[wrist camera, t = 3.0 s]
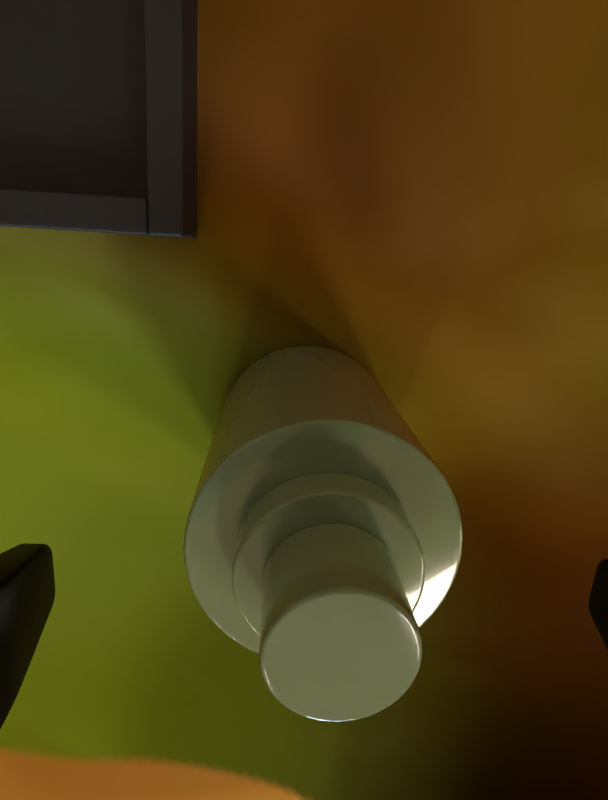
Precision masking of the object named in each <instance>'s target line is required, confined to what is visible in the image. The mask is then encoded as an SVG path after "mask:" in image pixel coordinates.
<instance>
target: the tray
mask: <svg viewBox="0 0 608 800" xmlns="http://www.w3.org/2000/svg"><path fill="white" fill-rule="evenodd" d="M196 213H197V0H0V226H12V227H27V228H43V229H59V230H74V231H90V232H106V233H121V234H137V235H153V236H168V237H188V238H195V237H196Z"/></svg>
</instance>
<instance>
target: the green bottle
mask: <svg viewBox="0 0 608 800" xmlns="http://www.w3.org/2000/svg"><path fill="white" fill-rule="evenodd" d="M462 542H463V533H462V521H461V516H460V511H459V506H458V504H457V501H456V498H455V496H454V493H453V491H452V489H451V487H450V485H449V483H448V482H447V480H446V478H445V476H444V475H443V474H442V472H441V471H440V469H439V468H438V467H437V465H436V464H435V462H434V461H433V460H432V458H431V457H430V455H429V454H428V453H427V451H426V450H425V448H424V447H423V446H422V444H421V443H420V441H419V440H418V439H417V437H416V436H415V434H414V433H413V432H412V430H411V429H410V427H409V426H408V425H407V423H406V422H405V420H404V419H403V418H402V416H401V415H400V413H399V412H398V411H397V409H396V408H395V406H394V405H393V404H392V402H391V401H390V399H389V398H388V397H387V395H386V394H385V392H384V391H383V390H382V388H381V387H380V385H379V384H378V383H377V381H376V380H375V379H374V377H373V376H372V375H371V374H370V373H369V372H368V371H367V370H366V369H365V368H364V367H363V366H362V365H361V364H359V363H358V362H357V361H355V360H354V359H352V358H351V357H349V356H347V355H345V354H343V353H340V352H338V351H335V350H332V349H328V348H324V347H317V346H296V347H289V348H285V349H281V350H278V351H275V352H273V353H270V354H268V355H266V356H264V357H262V358H261V359H259V360H257V361H256V362H254V363H253V364H252V365H251V366H249V367H248V368H247V369H246V370H245V371H244V372H243V373H242V374H241V375H240V376H239V377H238V379H237V380H236V381H235V383H234V384H233V385H232V387H231V389H230V391H229V393H228V395H227V397H226V400H225V402H224V405H223V408H222V411H221V414H220V417H219V420H218V424H217V427H216V430H215V433H214V436H213V439H212V442H211V446H210V449H209V452H208V455H207V458H206V461H205V464H204V468H203V471H202V474H201V477H200V480H199V483H198V486H197V490H196V493H195V496H194V499H193V502H192V505H191V508H190V512H189V515H188V519H187V524H186V528H185V535H184V558H185V566H186V570H187V575H188V579H189V582H190V584H191V587H192V589H193V592H194V594H195V596H196V598H197V600H198V601H199V603H200V605H201V607H202V608H203V610H204V611H205V612H206V614H207V615H208V616H209V617H210V619H211V620H212V621H213V622H214V623H215V624H216V625H217V626H218V627H219V628H220V629H221V630H222V631H223V632H224V633H225V634H226V635H228V636H229V637H230V638H232V639H233V640H234V641H236V642H237V643H239V644H240V645H242V646H244V647H246V648H247V649H249V650H251V651H253V652H256V653H258V654H259V664H260V669H261V673H262V676H263V678H264V681H265V683H266V684H267V686H268V688H269V690H270V691H271V693H272V694H273V695H274V696H275V698H276V699H277V700H278V701H279V702H281V703H282V704H283V705H284V706H286V707H287V708H288V709H290V710H292V711H293V712H295V713H297V714H299V715H302V716H304V717H307V718H310V719H314V720H319V721H325V722H347V721H353V720H358V719H362V718H366V717H369V716H371V715H374V714H376V713H378V712H380V711H382V710H384V709H386V708H387V707H389V706H390V705H392V704H393V703H395V702H396V701H397V700H398V699H399V698H400V697H401V696H402V695H403V694H404V693H405V692H406V691H407V690H408V689H409V687H410V686H411V685H412V683H413V681H414V679H415V678H416V676H417V673H418V671H419V668H420V664H421V659H422V650H423V646H422V637H421V633H420V630H419V628H420V627H421V626H423V625H424V623H425V622H426V621H427V620H428V619H429V618H430V617H431V616H432V615H433V614H434V613H435V611H436V610H437V609H438V607H439V606H440V605H441V603H442V602H443V601H444V599H445V597H446V595H447V594H448V592H449V590H450V588H451V586H452V584H453V581H454V579H455V576H456V574H457V571H458V567H459V563H460V559H461V553H462Z"/></svg>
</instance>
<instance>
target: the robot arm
mask: <svg viewBox="0 0 608 800" xmlns="http://www.w3.org/2000/svg"><path fill="white" fill-rule="evenodd" d="M54 597H55V581H54V569H53V558H52V551H51V549H50V547H49V546H48V545H46V544H26V543H24V544H20V545H18V546H15V547H13V548H11V549H9V550H7V551H5V552H3V553H1V554H0V729H1V727H2V725H3V723H4V721H5V719H6V717H7V715H8V713H9V711H10V709H11V707H12V705H13V703H14V701H15V699H16V697H17V694H18V692H19V690H20V687H21V685H22V682H23V680H24V677H25V675H26V672H27V670H28V667H29V665H30V662H31V659H32V657H33V654H34V652H35V649H36V647H37V644H38V642H39V639H40V636H41V634H42V631H43V629H44V626H45V624H46V621H47V618H48V616H49V613H50V611H51V608H52V605H53V602H54ZM589 611H590V614H591V617H592V619H593V621H594V623H595V625H596V627H597V629H598V631H599V633H600V635H601V637H602V639H603V641H604V643H605V645H606V647H607V649H608V559H604V560H602V561H600V563H599V564H598V566H597V569H596V573H595V577H594V581H593V585H592V589H591V593H590V597H589Z"/></svg>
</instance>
